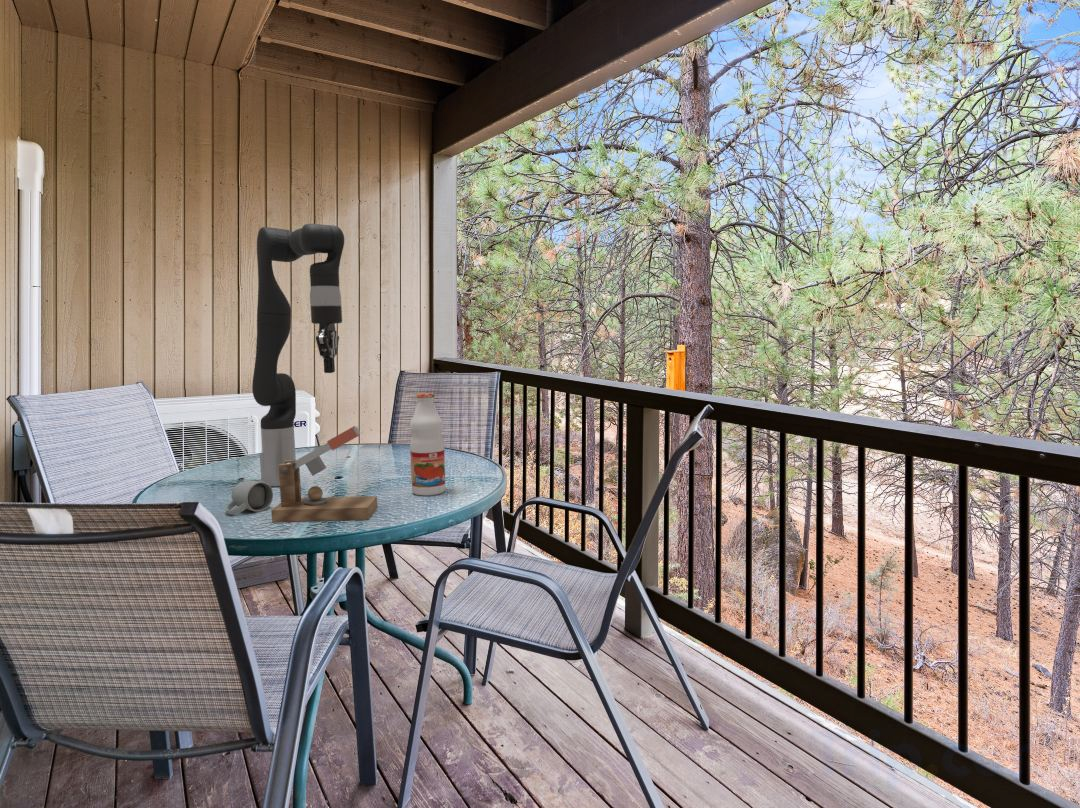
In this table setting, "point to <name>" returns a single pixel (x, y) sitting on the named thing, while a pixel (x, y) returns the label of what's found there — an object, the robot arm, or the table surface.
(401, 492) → the table surface
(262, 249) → the robot arm
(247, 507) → the ceramic mug
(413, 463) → the fruit juice
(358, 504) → the base
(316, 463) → the lever
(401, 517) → the table surface
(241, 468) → the table surface
